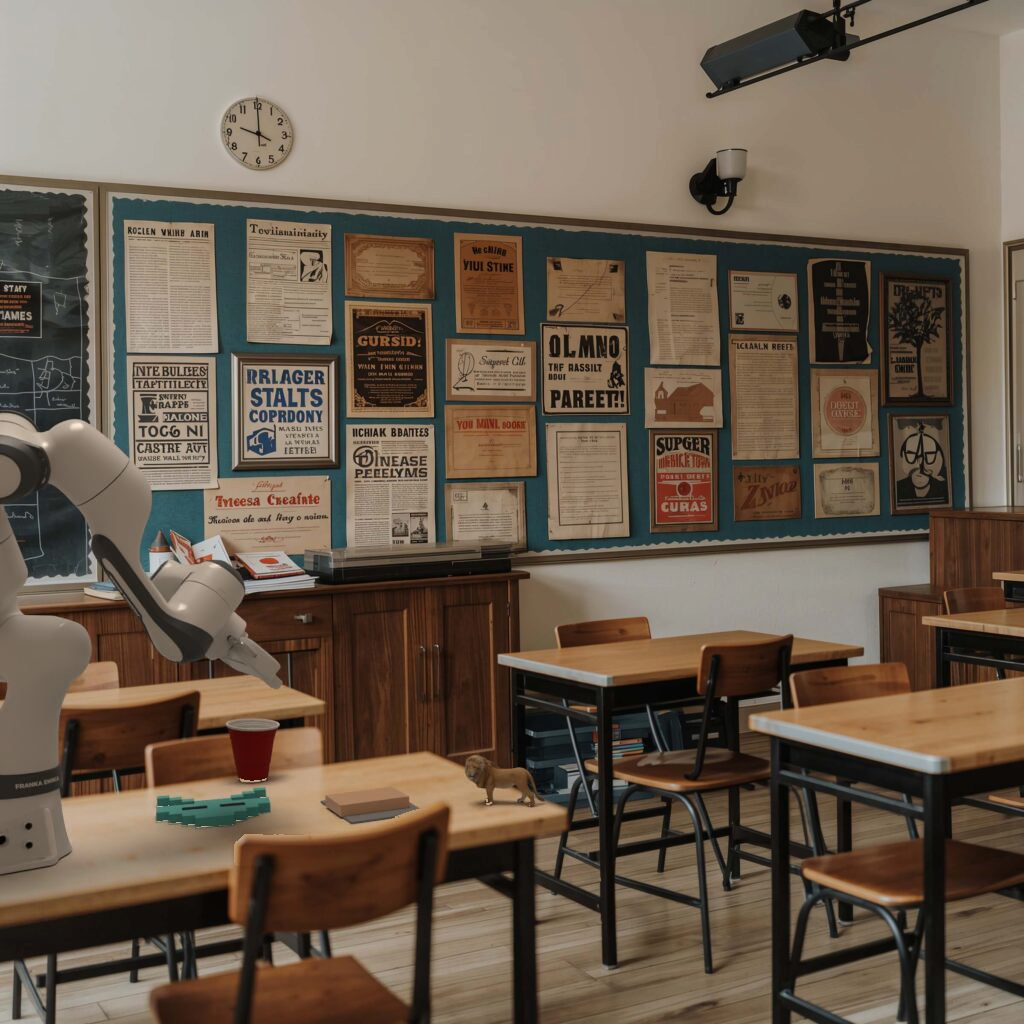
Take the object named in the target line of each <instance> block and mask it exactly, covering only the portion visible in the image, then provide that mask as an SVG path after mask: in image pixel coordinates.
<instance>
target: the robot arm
mask: <svg viewBox="0 0 1024 1024" xmlns="http://www.w3.org/2000/svg"><path fill="white" fill-rule="evenodd" d="M48 484H49V485H52V486H54V487H55V488H57V489H58V490H59V491H60V492H62V493H63V494H64V496H65V497H66V498H67V499H69V500H70V502H71V503H72V504H73V505H74V506H75V507H76V508H77V510H79V511H80V513H81V514H82V515H83V517H84V519H85V522H86V523H87V526H88V528H89V532H90V535H91V542H90V549H91V552H92V554H93V556H94V558H95V559H96V561H97V563H98V564H99V566H100V567H101V569H102V570H103V571H104V573H105V575H106V576H107V577H108V579H109V581H110V582H111V583H112V585H113V586H114V588H115V589H116V590H117V591H118V593H119V594H120V596H121V597H122V599H123V600H124V601H125V603H126V604H127V606H128V607H129V609H130V610H131V611H132V613H133V614H134V616H135V617H136V618H137V619H138V621H139V622H140V623H141V625H142V627H143V629H144V631H145V633H146V635H147V636H148V637H147V638H148V639H149V641H150V643H151V644H152V646H153V647H154V649H155V650H156V651H157V652H158V653H159V654H160V655H161V656H162V657H163V658H165V659H166V660H168V661H169V662H172V663H174V664H188V663H193V662H197V661H199V660H202V659H203V658H205V657H206V658H208V660H210V661H215V660H217V659H220V660H221V661H222V662H224V663H225V664H226V665H228V666H230V667H231V668H232V669H234V670H236V671H237V672H241V673H243V674H246V675H250V676H252V677H255V678H258V679H259V680H260V681H262V682H264V683H265V684H266V685H267V686H269V687H270V688H271V689H274V690H279V689H280V688H281V687H282V686H283V681H282V680H281V678H279V677H278V676H277V673H278V671H279V670H280V669H281V665H280V663H279V662H278V661H277V659H275V657H274V656H272V655H271V654H270V653H268V652H267V651H266V650H265V649H263V648H262V647H261V645H259V644H257V642H255V641H253V640H252V639H251V638H249V634H248V633H247V631H245V630H246V628H247V622H246V621H245V619H243V618H242V617H241V616H240V615H239V614H237V613H236V612H235V611H236V609H237V608H238V607H239V605H240V604H241V603H242V601H243V598H244V597H245V596H246V584H245V582H244V579H243V576H241V574H240V573H239V571H238V570H237V569H236V568H235V567H233V565H231V564H230V563H228V562H226V561H225V560H222V559H207V560H203V561H201V563H195V564H182V563H180V562H178V561H176V560H174V559H167V560H165V561H164V562H162V563H161V564H160V565H159V567H158V568H156V570H155V572H154V573H153V574H152V575H151V576H149V575H148V574H147V573H146V571H145V570H144V568H143V566H142V563H141V557H140V551H141V544H142V540H143V535H144V532H145V528H146V526H147V522H148V521H149V518H150V515H151V511H152V504H153V493H152V488H151V487H152V486H151V484H150V482H149V480H148V479H147V477H146V476H145V474H144V473H143V471H141V469H140V468H139V467H138V466H137V465H136V464H135V462H133V460H131V459H130V458H129V456H127V454H125V453H124V452H123V451H122V450H121V449H120V448H119V447H118V446H117V444H115V443H114V442H113V441H111V439H109V438H108V437H107V436H105V434H103V432H101V431H99V430H98V429H97V428H96V427H94V426H93V425H91V424H89V423H88V422H87V421H85V420H82V419H76V418H73V419H67V420H64V421H62V422H59V423H57V424H55V425H54V426H53V427H51V428H50V429H49V430H46V431H43V432H41V431H40V428H39V427H38V426H37V424H36V423H35V422H34V421H33V420H32V419H31V418H30V416H28V415H26V414H24V413H22V412H19V411H17V410H13V409H11V410H10V409H0V683H7V686H6V687H7V688H6V695H5V698H4V701H3V703H2V705H1V707H0V875H4V874H9V873H16V872H21V871H25V870H32V869H37V868H42V867H43V868H44V867H48V866H53V865H55V864H56V863H58V861H59V859H61V858H62V857H65V856H66V855H68V854H69V853H70V852H71V851H72V849H73V847H72V845H71V842H70V839H69V836H68V832H67V828H66V824H65V820H64V818H65V817H64V814H63V805H62V797H63V785H64V783H63V781H64V780H63V772H62V771H63V770H62V764H61V763H60V762H59V725H60V715H61V710H62V707H63V703H64V700H65V698H66V696H67V693H68V691H69V690H70V688H71V686H72V685H73V684H74V682H75V681H76V680H77V679H78V678H79V677H81V675H82V674H84V673H85V671H86V670H87V668H88V665H90V661H91V658H92V652H93V651H92V650H93V648H92V645H93V644H92V640H91V636H90V635H89V633H88V630H87V629H86V628H85V627H84V626H83V625H82V624H81V623H78V622H77V621H73V620H70V619H67V618H64V617H60V616H56V615H39V614H38V615H37V614H35V615H34V614H31V615H29V614H24V613H23V612H22V611H21V610H20V607H19V604H18V596H17V595H18V593H19V592H20V591H21V590H22V589H23V587H24V586H25V584H26V583H27V580H28V576H29V575H28V574H29V570H28V566H27V565H26V563H25V560H24V556H23V553H22V552H21V549H20V546H19V544H18V542H17V538H16V536H15V534H14V531H13V528H12V526H11V523H10V521H9V519H8V516H7V513H6V510H5V506H4V505H7V504H11V503H12V502H15V501H17V500H20V499H22V498H24V497H27V496H28V495H31V494H34V493H37V492H39V491H42V490H44V489H46V487H47V485H48Z"/></svg>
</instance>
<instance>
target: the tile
mask: <svg viewBox="0 0 1024 1024" xmlns="http://www.w3.org/2000/svg"><path fill="white" fill-rule="evenodd" d="M324 798H325V799H324V800H325V802H326V806H325V807H326V808H328V809H329V810H331V811H333V812H334V813H335V814H336V815H337V816H339V817H340V818H342V817H343V816H350V815H357V814H364V813H372V812H379V811H386V810H393V809H400V808H408V807H409V802H410V796H409V795H408V794H405V793H404V792H402V791H401V790H399V789H397V788H396V787H393V786H386V787H378V788H370V789H364V790H363V789H362V790H356V791H348V792H346V791H345V792H339V793H331V794H325V797H324Z"/></svg>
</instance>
